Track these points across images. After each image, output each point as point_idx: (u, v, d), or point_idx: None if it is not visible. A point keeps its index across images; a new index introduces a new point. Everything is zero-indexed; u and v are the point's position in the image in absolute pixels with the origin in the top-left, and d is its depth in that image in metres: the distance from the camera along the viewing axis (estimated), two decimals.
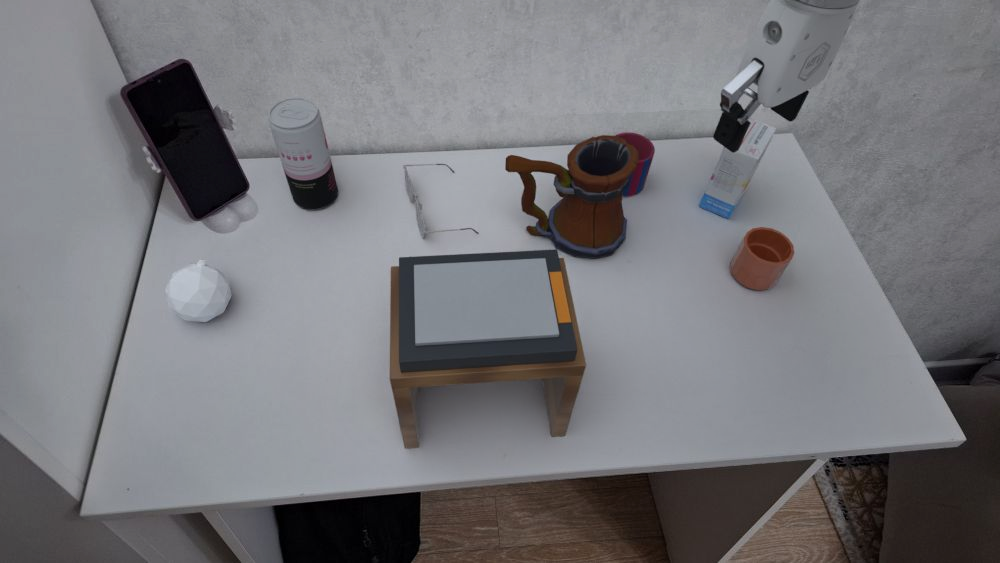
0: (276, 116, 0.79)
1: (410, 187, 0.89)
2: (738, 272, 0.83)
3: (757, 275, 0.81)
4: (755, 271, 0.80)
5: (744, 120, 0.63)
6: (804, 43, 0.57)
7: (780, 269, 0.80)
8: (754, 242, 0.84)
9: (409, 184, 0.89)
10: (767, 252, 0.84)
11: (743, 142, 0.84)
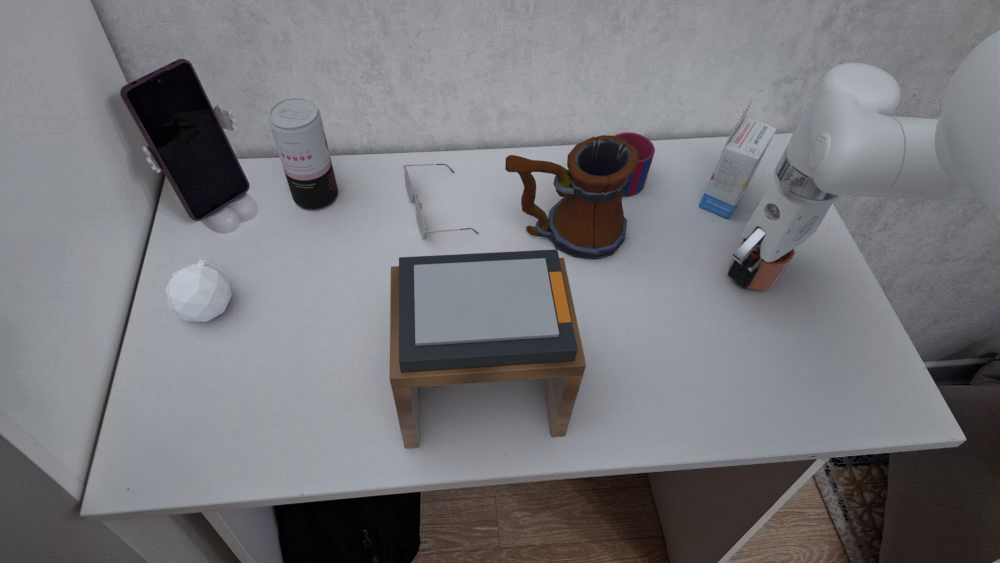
0: (276, 116, 0.79)
1: (410, 187, 0.89)
2: None
3: (757, 275, 0.81)
4: None
5: (754, 268, 0.79)
6: (797, 222, 0.71)
7: (780, 269, 0.80)
8: None
9: (409, 184, 0.89)
10: None
11: (743, 142, 0.84)
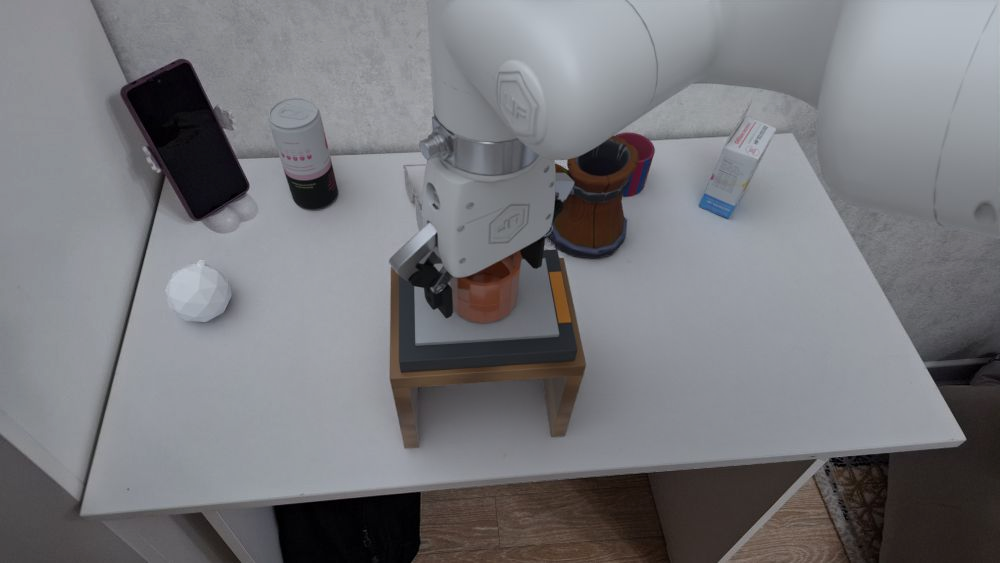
0: (276, 116, 0.79)
1: (410, 187, 0.89)
2: None
3: (468, 302, 0.54)
4: (464, 296, 0.53)
5: (439, 288, 0.50)
6: (470, 212, 0.43)
7: (497, 293, 0.53)
8: None
9: (409, 184, 0.89)
10: (501, 266, 0.57)
11: (743, 142, 0.84)
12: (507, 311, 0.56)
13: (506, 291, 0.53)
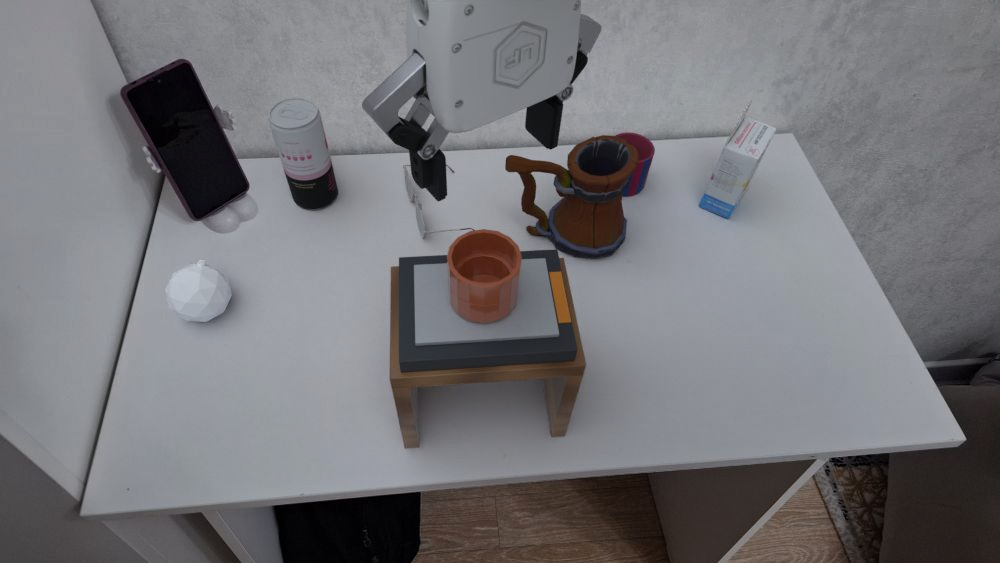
0: (276, 116, 0.79)
1: (410, 187, 0.89)
2: (451, 296, 0.56)
3: (468, 302, 0.54)
4: (464, 296, 0.53)
5: (429, 153, 0.39)
6: (469, 23, 0.32)
7: (497, 293, 0.53)
8: (482, 252, 0.57)
9: (409, 184, 0.89)
10: (501, 266, 0.57)
11: (743, 142, 0.84)
12: (507, 311, 0.56)
13: (506, 291, 0.53)
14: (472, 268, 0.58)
